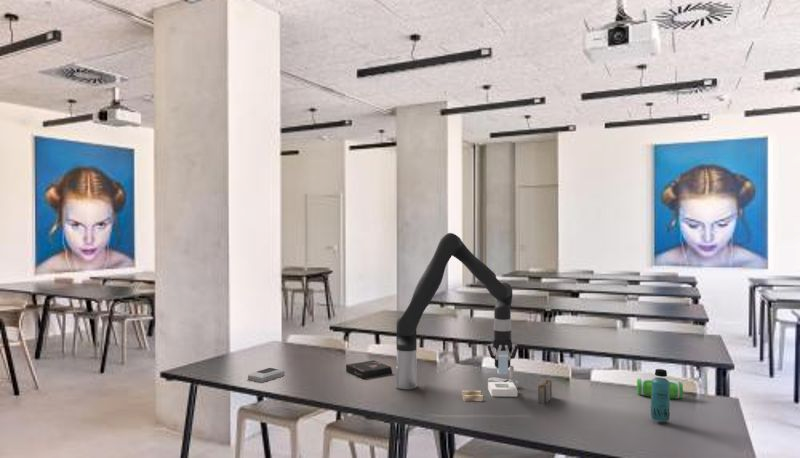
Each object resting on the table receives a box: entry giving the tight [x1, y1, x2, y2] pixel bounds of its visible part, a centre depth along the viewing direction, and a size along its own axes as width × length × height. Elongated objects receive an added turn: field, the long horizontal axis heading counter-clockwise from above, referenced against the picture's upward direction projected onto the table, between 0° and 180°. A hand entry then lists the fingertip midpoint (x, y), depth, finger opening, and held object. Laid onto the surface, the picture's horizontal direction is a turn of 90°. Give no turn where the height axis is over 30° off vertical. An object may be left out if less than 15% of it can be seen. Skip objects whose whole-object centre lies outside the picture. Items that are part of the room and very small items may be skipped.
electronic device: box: [487, 365, 519, 389], centre depth 260 cm, size 5×10×15 cm
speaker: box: [636, 377, 684, 399], centre depth 244 cm, size 18×7×8 cm, turn 71°
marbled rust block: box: [537, 379, 553, 405], centre depth 238 cm, size 11×3×10 cm, turn 150°
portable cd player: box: [345, 359, 393, 380], centre depth 282 cm, size 16×17×4 cm
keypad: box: [247, 366, 286, 384], centre depth 272 cm, size 10×4×15 cm
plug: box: [496, 351, 509, 375], centre depth 245 cm, size 4×4×10 cm
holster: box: [461, 390, 484, 402], centre depth 238 cm, size 8×8×3 cm
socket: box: [487, 381, 518, 398], centre depth 245 cm, size 11×11×4 cm
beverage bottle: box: [650, 368, 671, 422], centre depth 211 cm, size 6×7×20 cm
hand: (502, 367), depth 246 cm, fingers closed on plug, 4 cm apart
